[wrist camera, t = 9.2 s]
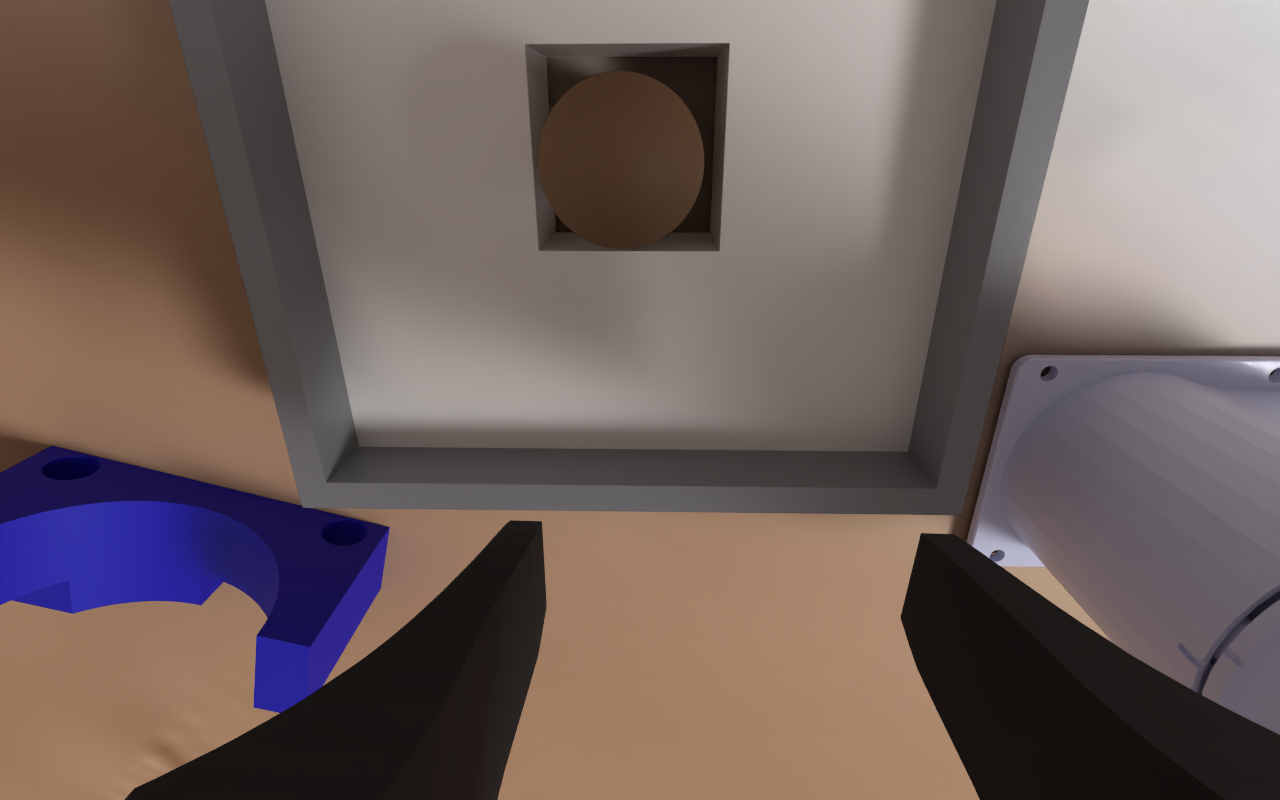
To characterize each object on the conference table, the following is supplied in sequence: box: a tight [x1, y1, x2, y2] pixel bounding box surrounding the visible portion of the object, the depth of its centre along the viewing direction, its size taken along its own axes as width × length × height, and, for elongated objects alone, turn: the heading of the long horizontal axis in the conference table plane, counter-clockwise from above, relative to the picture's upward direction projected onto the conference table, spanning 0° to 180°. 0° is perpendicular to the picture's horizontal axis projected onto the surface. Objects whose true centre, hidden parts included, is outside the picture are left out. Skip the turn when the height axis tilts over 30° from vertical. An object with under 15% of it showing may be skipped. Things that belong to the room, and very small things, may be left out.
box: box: [169, 0, 1089, 515], centre depth 15 cm, size 18×18×5 cm
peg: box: [538, 71, 704, 249], centre depth 14 cm, size 3×3×7 cm
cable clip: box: [0, 446, 389, 713], centre depth 21 cm, size 12×4×6 cm, turn 74°
